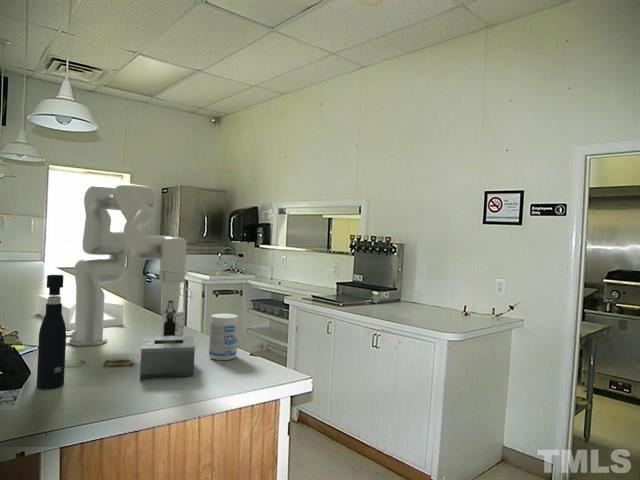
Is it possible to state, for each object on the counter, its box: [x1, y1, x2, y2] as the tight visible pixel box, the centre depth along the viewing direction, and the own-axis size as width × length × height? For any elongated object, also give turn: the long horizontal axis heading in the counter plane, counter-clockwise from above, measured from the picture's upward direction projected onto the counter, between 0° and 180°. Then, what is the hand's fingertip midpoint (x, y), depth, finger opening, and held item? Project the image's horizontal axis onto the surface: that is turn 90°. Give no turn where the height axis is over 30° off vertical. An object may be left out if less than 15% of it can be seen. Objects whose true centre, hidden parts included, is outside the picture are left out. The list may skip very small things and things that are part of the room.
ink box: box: [161, 309, 186, 336], centre depth 176 cm, size 9×5×12 cm, turn 168°
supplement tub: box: [208, 313, 239, 361], centre depth 157 cm, size 10×10×15 cm
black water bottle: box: [36, 274, 67, 390], centre depth 121 cm, size 6×6×30 cm
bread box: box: [37, 294, 125, 332], centre depth 207 cm, size 45×22×10 cm, turn 47°
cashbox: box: [139, 335, 196, 381], centre depth 139 cm, size 15×15×9 cm
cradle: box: [102, 357, 135, 368], centre depth 143 cm, size 8×5×1 cm, turn 108°
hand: (169, 331), depth 139 cm, fingers open, 9 cm apart
